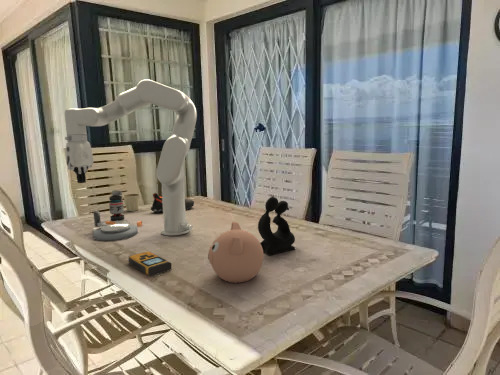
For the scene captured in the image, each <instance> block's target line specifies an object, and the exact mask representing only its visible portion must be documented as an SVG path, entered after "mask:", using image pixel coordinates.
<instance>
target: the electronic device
mask: <svg viewBox="0 0 500 375" xmlns="http://www.w3.org/2000/svg"><path fill="white" fill-rule="evenodd" d="M127 259H128V264H129V265H130V266H132V267H133V268H135V269H137V270H138V271H140V272H142V273H144V274H146V275H148V276H149V277H153V276H155V275H158V273H159V274H162V273H165V272H168V271H167V270H169V271H171V270H172V263H171V262H170V261H168V260H167V259H165V258H164V257H161V256H158V255H157V254H155V253H152V252H151V251H144V252H140V253H137V254H132V255H130V256H128V258H127ZM170 269H171V270H170ZM164 271H165V272H164ZM161 272H162V273H161Z"/></svg>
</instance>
